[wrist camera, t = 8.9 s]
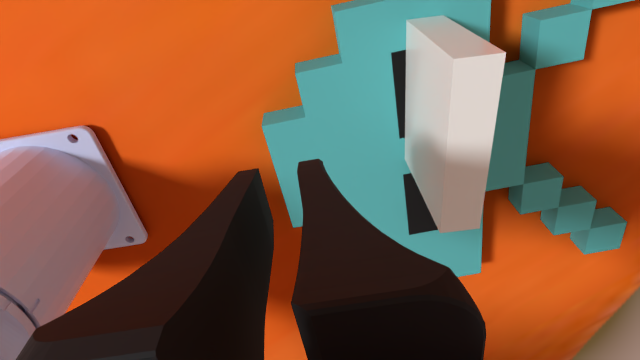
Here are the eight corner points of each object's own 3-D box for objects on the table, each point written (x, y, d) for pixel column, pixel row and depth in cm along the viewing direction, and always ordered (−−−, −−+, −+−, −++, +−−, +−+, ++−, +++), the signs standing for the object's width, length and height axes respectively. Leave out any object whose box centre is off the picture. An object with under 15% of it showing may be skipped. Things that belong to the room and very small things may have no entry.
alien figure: (686, -136, 16) (224, -28, 18) (736, -144, 14) (215, -22, 16) (596, 226, 27) (314, 277, 28) (619, 248, 25) (316, 301, 27)
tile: (404, 158, 21) (440, 233, 16) (406, 19, 17) (453, 59, 12) (434, 155, 21) (479, 228, 16) (443, 15, 17) (506, 52, 12)
